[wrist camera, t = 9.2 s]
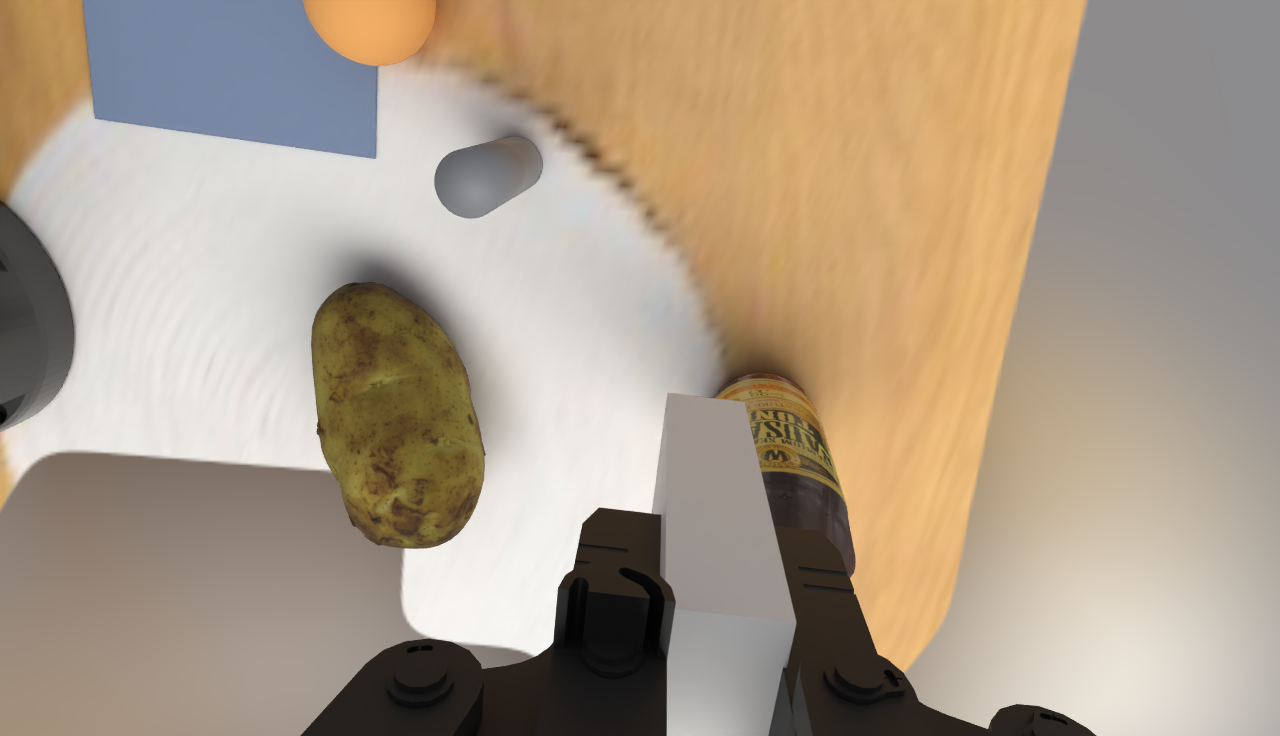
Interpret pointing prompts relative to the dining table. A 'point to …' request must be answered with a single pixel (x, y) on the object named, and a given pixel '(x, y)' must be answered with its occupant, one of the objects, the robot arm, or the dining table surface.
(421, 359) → the potato
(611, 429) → the dining table surface
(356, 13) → the ball
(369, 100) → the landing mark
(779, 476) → the sauce bottle
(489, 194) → the post
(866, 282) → the dining table surface
